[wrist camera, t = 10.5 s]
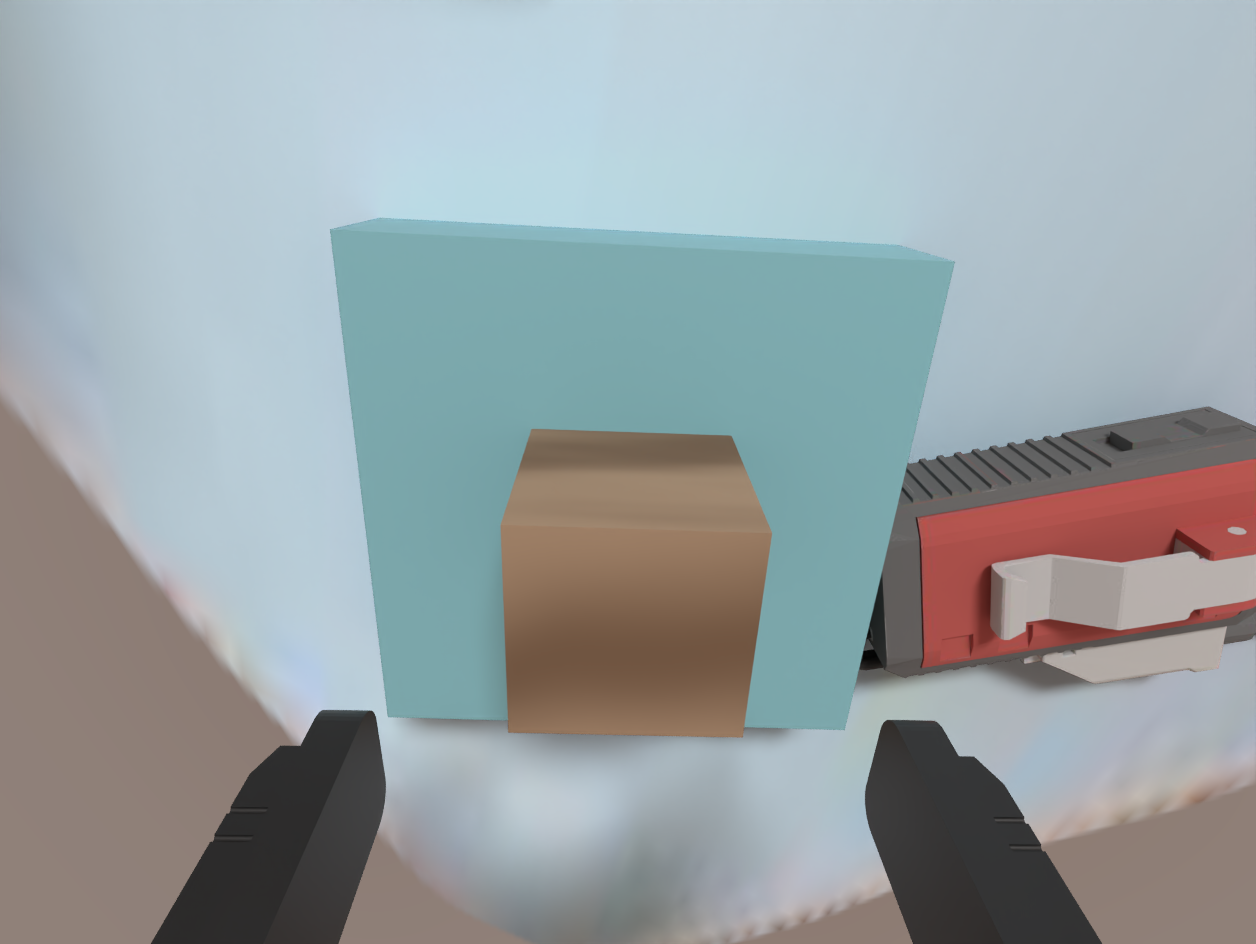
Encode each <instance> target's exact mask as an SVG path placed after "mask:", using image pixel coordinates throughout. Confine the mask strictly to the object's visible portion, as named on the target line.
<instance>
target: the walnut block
mask: <svg viewBox="0 0 1256 944" xmlns="http://www.w3.org/2000/svg"><path fill="white" fill-rule="evenodd" d="M500 526H501V552H502V578H503V604H504V631H505V657H506V683H507V710H508V732H509V733H556V734H603V735H650V736H697V737H743V731H744V724H745V717H746V711H747V704H748V697H749V690H750V683H751V676H752V669H753V662H754V655H755V648H756V642H757V635H758V628H759V621H760V614H761V607H762V600H763V593H764V586H765V579H766V573H767V566H768V559H769V552H770V545H771V538H772V531H771V529H770V527H769V524H768V522H767V519H766V517H765V515H764V512H763V510H762V507H761V505H760V503H759V500H758V498H757V495H756V493H755V491H754V488H753V486H752V483H751V481H750V479H749V476H748V474H747V472H746V469H745V467H744V464H743V462H742V460H741V457H740V455H739V452H738V450H737V448H736V445H735V443H734V440H733V438H732V436H729V435H700V434H671V433H642V432H613V431H583V430H554V429H531V432H530V435H529V438H528V441H527V444H526V448H525V451H524V454H523V457H522V460H521V463H520V466H519V469H518V472H517V475H516V478H515V482H514V485H513V488H512V491H511V494H510V497H509V500H508V503H507V506H506V509H505V512H504V516H503V519H502V522H501V525H500Z"/></svg>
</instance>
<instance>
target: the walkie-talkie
mask: <svg viewBox="0 0 1256 944" xmlns="http://www.w3.org/2000/svg"><path fill="white" fill-rule="evenodd" d="M1254 635H1256V426H1254V425H1251V424H1249V423H1247V422H1244V421H1242V420H1239V419H1237V418H1235V417H1232V416H1230V415H1228V414H1225V413H1223V412H1220V411H1218V410H1216V409H1213V408H1211V407H1203V408H1198V409H1192V410H1187V411H1181V412H1176V413H1170V414H1165V415H1160V416H1154V417H1149V418H1143V419H1138V420H1132V421H1127V422H1121V423H1116V424H1110V425H1105V426H1099V427H1094V428H1088V429H1083V430H1077V431H1072V432H1066V433H1062V435H1061V436H1060V437H1055V438H1052V437H1051V436H1045V437H1044V438H1043V440H1038V441H1034V440H1032V439H1028V440H1026V441H1025V443H1022V444H1015V443H1014V442H1012V443H1008V445H1007V446H1005V447H1000V448H998V447H997V446H996V445H995V446H990V448H989V450H983V451H980V450H979V449H973V450H972V452H971V453H967V454H962V453H961V452H957V453H955V454H954V456H950V457H944V456H943V455H940V456H937V458H936V459H934V460H929V461H927V460H926V459H925V458H924V459H919V462H918V463H912V464H909V463H907V467H906V471H905V476H904V480H903V484H902V488H901V493H900V497H899V501H898V505H897V510H896V514H895V518H894V522H893V527H892V531H891V535H890V539H889V544H888V548H887V552H886V556H885V561H884V565H883V569H882V573H881V578H880V582H879V586H878V590H877V595H876V599H875V603H874V607H873V612H872V616H871V620H870V624H869V629H868V633H867V637H866V639H869V640H870V642H871V644H872V646H873V648H874V649H873V650H867V651H863V654H862V658H861V663H860V667H859V670H870V669H877V668H883V667H884V669H885V670H887V671H889V672H892V673H894V674H897V675H899V676H902V677H904V678H906V677H908V676H911V675H917V674H918V675H924V674H925V673H930V672H936V673H938V672H941V671H943V670H949V669H953V670H956V669H959V668H961V667H967V666H970V667H975V666H977V665H980V664H986V663H987V664H993V663H994V662H999V661H1005V662H1006V661H1011V660H1012V659H1017V658H1020V659H1021V660H1022V662H1023V663H1024V664H1025V663H1032V662H1038V661H1042V662H1044V663H1047V664H1049V665H1051V666H1054V667H1056V668H1058V669H1061V670H1063V671H1065V672H1068V673H1070V674H1072V675H1075V676H1077V677H1079V678H1082V679H1084V680H1087V681H1089V682H1091V683H1094V684H1098V683H1104V682H1111V681H1117V680H1124V679H1131V678H1137V677H1144V676H1150V675H1157V674H1163V673H1170V672H1176V671H1183V670H1190V671H1193V672H1199V671H1205V670H1211V669H1217V668H1218V667H1219V663H1220V658H1221V653H1222V648H1223V644H1228V643H1234V642H1239V641H1245V640H1249V639H1252V637H1253V636H1254Z"/></svg>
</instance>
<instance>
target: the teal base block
mask: <svg viewBox="0 0 1256 944" xmlns="http://www.w3.org/2000/svg"><path fill="white" fill-rule="evenodd" d="M330 234H331V242H332V251H333V259H334V267H335V276H336V284H337V293H338V301H339V310H340V318H341V326H342V335H343V343H344V352H345V360H346V368H347V377H348V385H349V394H350V402H351V411H352V419H353V427H354V436H355V444H356V453H357V461H358V469H359V478H360V486H361V495H362V503H363V512H364V520H365V528H366V537H367V545H368V554H369V562H370V571H371V579H372V587H373V596H374V604H375V613H376V621H377V629H378V638H379V646H380V655H381V663H382V672H383V680H384V688H385V697H386V705H387V714H388V717H402V718H438V719H473V720H508V710H507V683H506V657H505V631H504V604H503V578H502V552H501V526H500V525H501V522H502V519H503V516H504V512H505V509H506V506H507V503H508V500H509V497H510V494H511V491H512V488H513V485H514V482H515V478H516V475H517V472H518V469H519V466H520V463H521V460H522V457H523V454H524V451H525V448H526V444H527V441H528V438H529V435H530V432H531V429H554V430H583V431H613V432H642V433H671V434H700V435H729V436H732V438H733V440H734V443H735V445H736V448H737V450H738V452H739V455H740V457H741V460H742V462H743V464H744V467H745V469H746V472H747V474H748V476H749V479H750V481H751V483H752V486H753V488H754V491H755V493H756V495H757V498H758V500H759V503H760V505H761V507H762V510H763V512H764V515H765V517H766V519H767V522H768V524H769V527H770V529H771V531H772V538H771V545H770V552H769V559H768V566H767V573H766V579H765V586H764V593H763V600H762V607H761V614H760V621H759V628H758V635H757V642H756V648H755V655H754V662H753V669H752V676H751V683H750V690H749V697H748V704H747V711H746V717H745V724H744V727H756V728H792V729H827V730H845V726H846V722H847V718H848V714H849V709H850V705H851V701H852V697H853V692H854V688H855V684H856V680H857V675H858V671H859V667H860V663H861V658H862V654H863V650H864V646H865V641H866V637H867V633H868V629H869V624H870V620H871V616H872V612H873V607H874V603H875V599H876V595H877V590H878V586H879V582H880V578H881V573H882V569H883V565H884V561H885V556H886V552H887V548H888V544H889V539H890V535H891V531H892V527H893V522H894V518H895V514H896V510H897V505H898V501H899V497H900V493H901V488H902V484H903V480H904V476H905V471H906V467H907V463H908V459H909V454H910V450H911V446H912V442H913V437H914V433H915V429H916V425H917V420H918V416H919V412H920V408H921V403H922V399H923V395H924V391H925V386H926V382H927V378H928V374H929V369H930V365H931V361H932V357H933V352H934V348H935V344H936V340H937V335H938V331H939V327H940V323H941V318H942V314H943V310H944V306H945V301H946V297H947V293H948V289H949V284H950V280H951V276H952V272H953V267H954V263H955V262H954V261H951V260H947V259H944V258H940V257H937V256H934V255H930V254H927V253H924V252H920V251H917V250H913V249H910V248H907V247H903V246H900V245H887V244H867V243H848V242H829V241H810V240H791V239H772V238H753V237H734V236H715V235H696V234H677V233H658V232H639V231H620V230H601V229H581V228H562V227H543V226H524V225H505V224H486V223H467V222H448V221H429V220H410V219H391V218H377V219H373V220H368V221H364V222H360V223H356V224H351V225H347V226H343V227H339V228H334V229H330Z"/></svg>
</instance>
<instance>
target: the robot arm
mask: <svg viewBox="0 0 1256 944" xmlns="http://www.w3.org/2000/svg"><path fill="white" fill-rule="evenodd" d="M385 793H386V781H385V773H384V767H383V760H382V754H381V747H380V740H379V734H378V727H377V721H376V716H375V714H374V712H373V711H359V710H322V711H321V712H320V713H319V714H318V715H317V716H316V718H315V719H314V721H313V723H312V725H311V727H310V729H309V731H308V733H307V734H306V736H305V738H304V740H303V742H302V744H301V746H280V747H279V748H277V749H276V750H275V751H274V752H273V753H272V754H271V755H270V756H269V757H268V758H267V759H266V760H264V761H263V762H262V763H261V764H260V765H259V766H258V767H257V768H256V769H255V770H254V771H252V772H251V773H250V775H249V777H248V778H247V780H246V782H245V783H244V785H243V787H242V788H241V790H240V792H239V794H238V795H237V797H236V799H235V800H234V802H233V804H232V806H231V811H230V813H229V814H226V816H225V818H224V819H223V821H222V823H221V825H220V826H219V828H218V830H217V831H216V833H215V837H214V841H213V842H210V844H209V845H208V847H207V849H206V850H205V852H204V854H203V855H202V857H201V859H200V860H199V862H198V864H197V866H196V867H195V869H194V871H193V872H192V874H191V876H190V878H189V879H188V881H187V883H186V884H185V886H184V888H183V890H182V891H181V893H180V895H179V897H178V898H177V900H176V902H175V903H174V905H173V907H172V908H171V910H170V912H169V914H168V916H167V917H166V919H165V920H164V923H163V924H162V926H161V928H160V929H159V931H158V932H157V934H156V936H155V938H154V939H153V941H152V943H151V944H338V943H339V940H340V937H341V935H342V931H343V929H344V925H345V923H346V920H347V917H348V914H349V911H350V909H351V906H352V902H353V900H354V897H355V894H356V891H357V888H358V885H359V883H360V880H361V877H362V874H363V871H364V868H365V865H366V862H367V859H368V856H369V854H370V851H371V848H372V845H373V842H374V839H375V836H376V834H377V831H378V828H379V825H380V822H381V818H382V814H383V809H384V803H385ZM865 806H866V815H867V820H868V824H869V828H870V831H871V834H872V836H873V839H874V842H875V844H876V847H877V849H878V852H879V855H880V857H881V860H882V863H883V865H884V868H885V871H886V873H887V876H888V879H889V881H890V884H891V887H892V889H893V892H894V894H895V897H896V900H897V902H898V905H899V908H900V910H901V913H902V915H903V918H904V921H905V923H906V926H907V929H908V931H909V934H910V937H911V939H912V942H913V944H1102V943H1101V941H1100V939H1099V938H1098V936H1097V935H1096V933H1095V931H1094V930H1093V928H1092V926H1091V925H1090V923H1089V922H1088V920H1087V918H1086V917H1085V915H1084V914H1083V912H1082V910H1081V909H1080V907H1079V905H1078V904H1077V902H1076V900H1075V899H1074V897H1073V896H1072V894H1071V893H1070V891H1069V889H1068V887H1067V886H1066V884H1065V883H1064V881H1063V879H1062V878H1061V876H1060V874H1059V873H1058V871H1057V870H1056V868H1055V866H1054V865H1053V863H1052V862H1051V860H1050V858H1049V857H1048V855H1047V853H1046V852H1043V851H1042V850H1041V844H1040V842H1039V840H1038V839H1037V837H1036V836H1035V834H1034V832H1033V831H1032V829H1031V827H1030V826H1029V824H1026V823H1025V822H1024V816H1023V814H1022V813H1021V811H1020V810H1019V808H1018V806H1017V805H1016V803H1015V801H1014V800H1013V798H1012V797H1011V795H1010V793H1009V792H1008V790H1007V788H1006V787H1005V785H1004V784H1003V783H1002V782H1001V781H1000V780H999V779H998V778H996V777H995V776H994V775H993V774H992V773H991V772H990V771H989V770H988V769H987V768H986V767H985V766H983V765H982V764H981V763H980V762H979V761H978V760H977V759H976V758H975V757H962V756H958V754H957V753H956V751H955V749H954V747H953V746H952V744H951V742H950V740H949V739H948V737H947V735H946V733H945V732H944V730H943V728H942V727H941V726H940V725H939V724H938V723H937V722H935V721H916V720H887V721H885V722H884V723H883V725H882V727H881V730H880V734H879V738H878V742H877V746H876V750H875V754H874V757H873V761H872V765H871V769H870V773H869V777H868V781H867V785H866V791H865Z"/></svg>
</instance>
